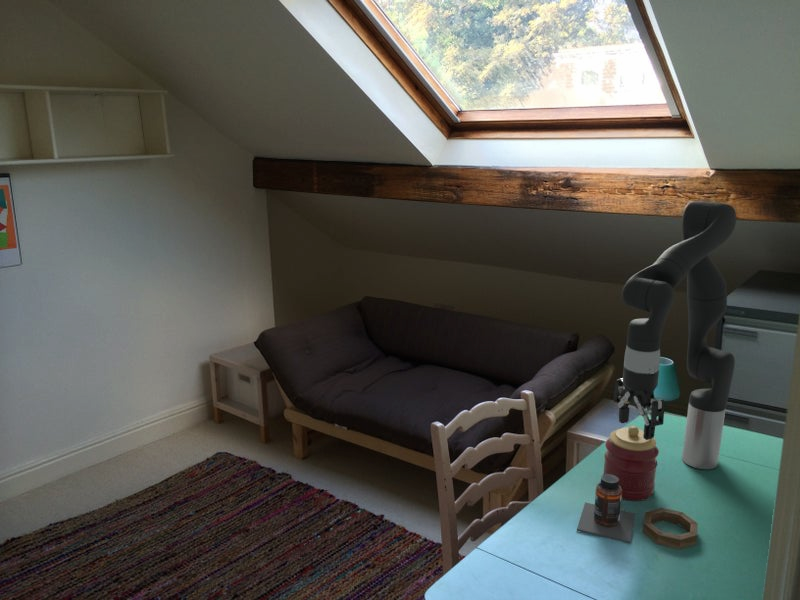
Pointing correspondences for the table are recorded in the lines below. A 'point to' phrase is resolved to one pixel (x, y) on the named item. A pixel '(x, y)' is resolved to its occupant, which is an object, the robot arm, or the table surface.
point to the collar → (668, 538)
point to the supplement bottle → (608, 501)
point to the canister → (632, 462)
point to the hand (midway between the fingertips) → (635, 430)
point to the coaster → (611, 532)
